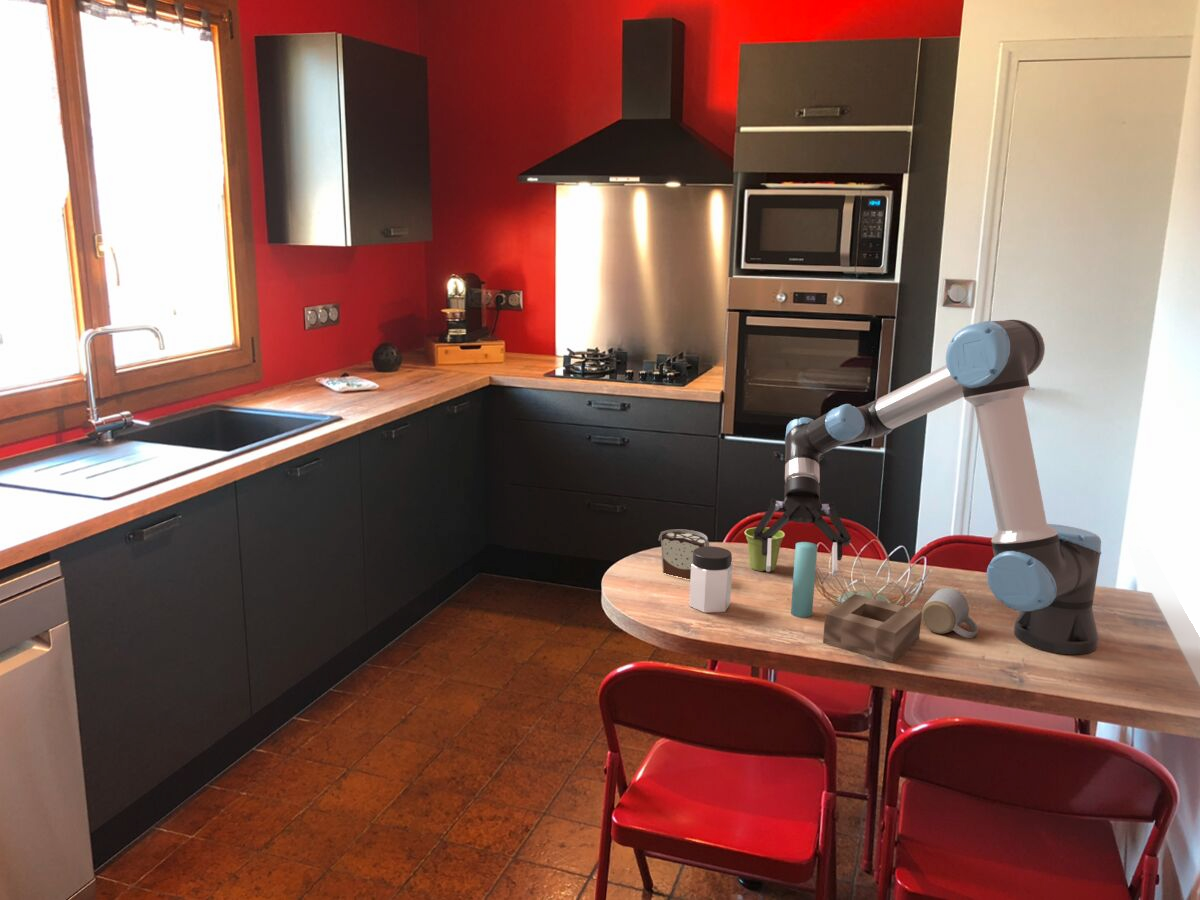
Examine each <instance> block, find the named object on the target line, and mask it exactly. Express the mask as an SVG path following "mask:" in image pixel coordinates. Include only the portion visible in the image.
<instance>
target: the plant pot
mask: <svg viewBox="0 0 1200 900" xmlns="http://www.w3.org/2000/svg"><path fill="white" fill-rule="evenodd" d="M756 527H757V526H756ZM756 527H750V528H746V529H745V531H744V535H745V537H746V541H747V547H748V548H747V549H748V561H749V566H750V568H751V569H752V570H754V571H758V572H764V571H766V567H767V556H765V555H762V542H761V541H760V540H755V539H754V531H755V529H756ZM769 528H770V527H767V526H766V528H765V529H764V531H763V532H762V533H764V532H765V531H767V530H768V529H769ZM785 534H786V533H785V532H784V531H783V530H781V529H780V530H779V531H778V532H777V533H776V534H775V535H774V536H773V537H772V539H771V568H770V572H772V571H774V570H776V569H777V564H778V557H779V553H780V548H781V543H782V542H783V539H784V538H785V536H786V535H785Z"/></svg>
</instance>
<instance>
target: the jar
mask: <svg viewBox="0 0 1200 900" xmlns="http://www.w3.org/2000/svg"><path fill="white" fill-rule="evenodd" d="M732 556H733V554H732V552H731V551H730V550H728V549H727V548H724V547H719V546H710V545H709V546H706V547H699V548H696V549H695V550H694V551H693V564H692V565H691V577H690V581H689V582H690V583H689V599H688V601H689V603H688V607H690V608H692V607H693V609H695V610H698V611H699V612H702V613H703V614H704V613H706V614H708V613H710V614H711V613H712V614H713V613H725V612H726V610H727V609H728V608H729V606H730V605H731V593H732V575H733V574H732V573H733V563H732V561H733V558H732Z"/></svg>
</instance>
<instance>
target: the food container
mask: <svg viewBox="0 0 1200 900" xmlns="http://www.w3.org/2000/svg"><path fill="white" fill-rule="evenodd" d="M658 541H660V545H661V546H660V547H661V548H660V549H661V564H662V565H661V567H662V574H663V573H666V574H669V575H673V576H678V577H682V578H686V579H690V577H691V565H692V564H693V551H694V550H695V549H696V548H699V547H706V546H710V542H709V539H708V536H707V535H706V534H704V533H703V532H700V531H696V530H692V529H691V530H690V529H682V528H681V529H667V530H664V531H661V532H660V534H659V536H658Z"/></svg>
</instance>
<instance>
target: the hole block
mask: <svg viewBox="0 0 1200 900" xmlns="http://www.w3.org/2000/svg"><path fill="white" fill-rule="evenodd" d="M921 622H922V610H919V609H915V608H911V607H907V606H904V605H899V604H895V603H892V602H888V601H883V600H880V599H876V598H872V597H867V596H864V595H860V594H857V593H854V594H853V595H850V597H847V598H846V599H845V600H843V601H842V602H841V603H839V604H838V605H836V606H835V607H833V608H832V609H831V610H829V611H827V612H826V613H825V614H824V626H823V636H822V637H823V638H822V639H823V640H822V644H826V645H829V646H833V647H835V648H840V649H842V650H843V649H844V650H846V651H847V650H848V651H850V652H853V653H857V654H860V655H864V656H867V657H871V658H874V659H877V660H881V661H885V662H887V663H891V664H893V663H894V662H895V661H896V660H898V659H899V658H900V657H901V656H902V655H904V653H906V652H907V651H908V650H907V649H910V648H911V647H912V646H914V645H915V644H916V643H917V642H918V641H919V640H920V634H921V624H922V623H921ZM917 640H918V641H917ZM916 641H917V642H916ZM915 642H916V643H915ZM906 650H907V651H906Z"/></svg>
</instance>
